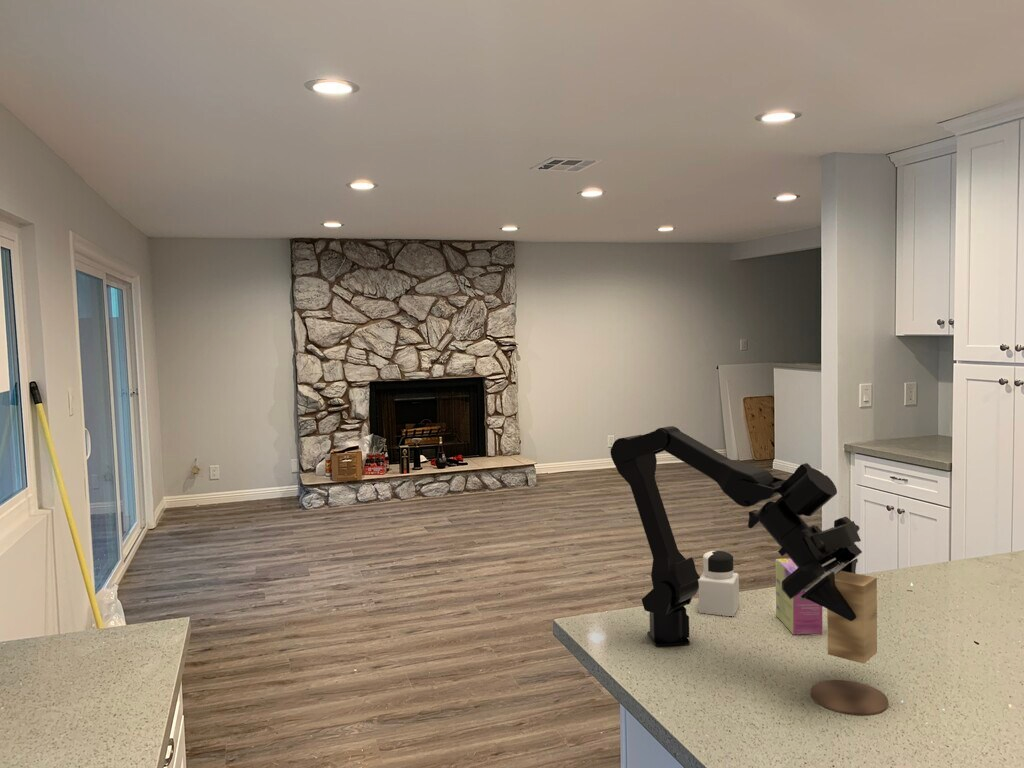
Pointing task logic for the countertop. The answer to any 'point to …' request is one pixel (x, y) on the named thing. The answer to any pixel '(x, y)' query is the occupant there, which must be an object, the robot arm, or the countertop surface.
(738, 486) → the robot arm
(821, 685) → the coaster
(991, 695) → the countertop surface
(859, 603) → the oak block
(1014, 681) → the countertop surface
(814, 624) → the box
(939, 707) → the countertop surface
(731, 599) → the medicine bottle
